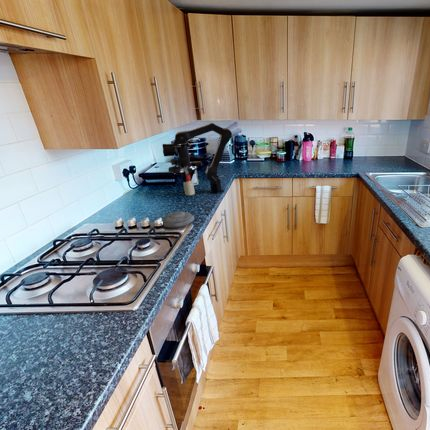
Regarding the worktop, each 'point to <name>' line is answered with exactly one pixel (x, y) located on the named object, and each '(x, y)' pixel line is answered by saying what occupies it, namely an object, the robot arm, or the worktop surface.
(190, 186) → the bottle
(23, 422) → the worktop surface
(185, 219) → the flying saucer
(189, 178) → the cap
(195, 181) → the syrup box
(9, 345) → the worktop surface
